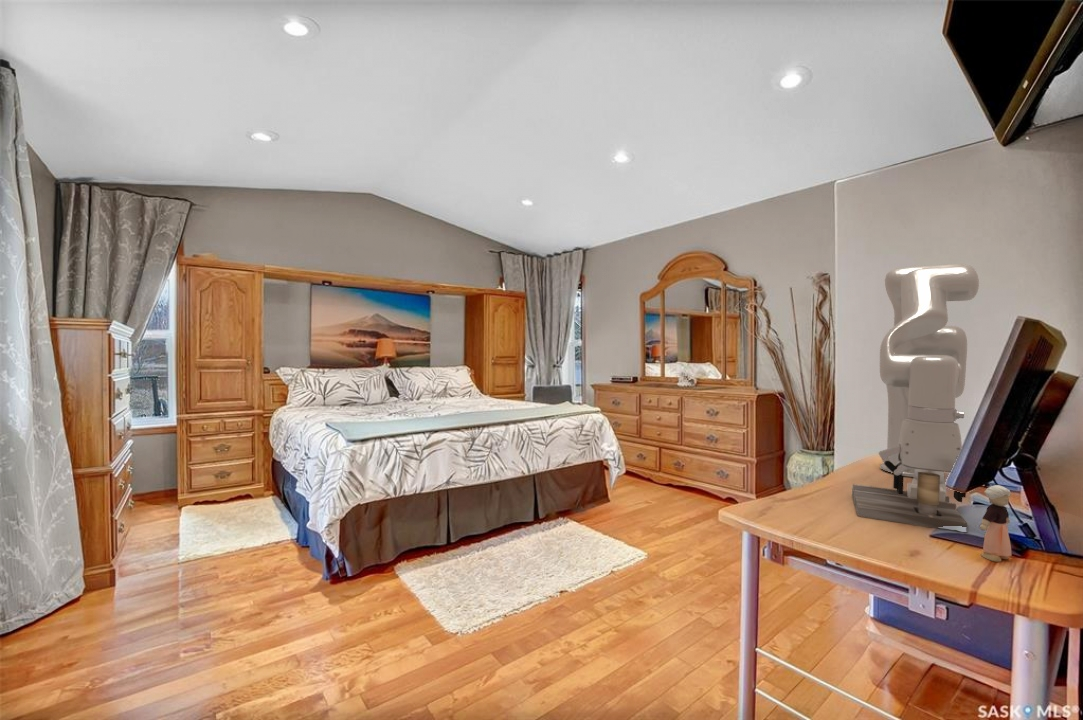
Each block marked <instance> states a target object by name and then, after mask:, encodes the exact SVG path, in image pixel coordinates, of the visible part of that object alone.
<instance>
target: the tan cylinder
mask: <svg viewBox="0 0 1083 720" xmlns="http://www.w3.org/2000/svg"><path fill="white" fill-rule="evenodd" d="M939 488H940V475H938V474H935V473H929V472H918V482H917V501H918V502H919V506H918V513H920V514H927V515H934V516H937V505H939Z"/></svg>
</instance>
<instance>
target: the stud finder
mask: <svg viewBox="0 0 1083 720" xmlns="http://www.w3.org/2000/svg"><path fill="white" fill-rule="evenodd" d="M906 487H907V488H906V489H907V490H906V491H907V496H908V497H910V498H917V484H914V483H912V482H907V486H906ZM945 495H946V496H947V491H946V492H945V490H944V489H943V488H942V487H940V488H939V501H940V502H945Z"/></svg>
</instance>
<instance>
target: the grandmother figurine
mask: <svg viewBox="0 0 1083 720" xmlns="http://www.w3.org/2000/svg"><path fill="white" fill-rule="evenodd" d="M984 495H986V497H987V498H988V501H989V503H991V504H989V505H988V506H987V507H986V510H985V513H984V515H983V517H982V520H981V523H980V525H979V529H980V530H981V531H985V535H984V538H983V540H984V541H983V548H982V549H983V552H981V553H980V556H981V557H983V558H985V559H987V560H989V561H991V562H996V563H997V562H1000V563H1001V562H1002V560H1008V559H1009V557H1012V555H1013V554H1012V547H1011V546H1012V545H1011V540H1010V536H1009V535H1010V534H1009V529H1008V525H1009V524H1010V523H1011V521H1010V516H1009V511H1008V509H1007V505H1008V504H1009V501H1010V499H1009V497H1010V496H1011V491H1010V489H1008V488H1007V487H1005V486H1002V485H998V484H995V485H992V486H989V487H987V488H986V489H985V490H984Z"/></svg>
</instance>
